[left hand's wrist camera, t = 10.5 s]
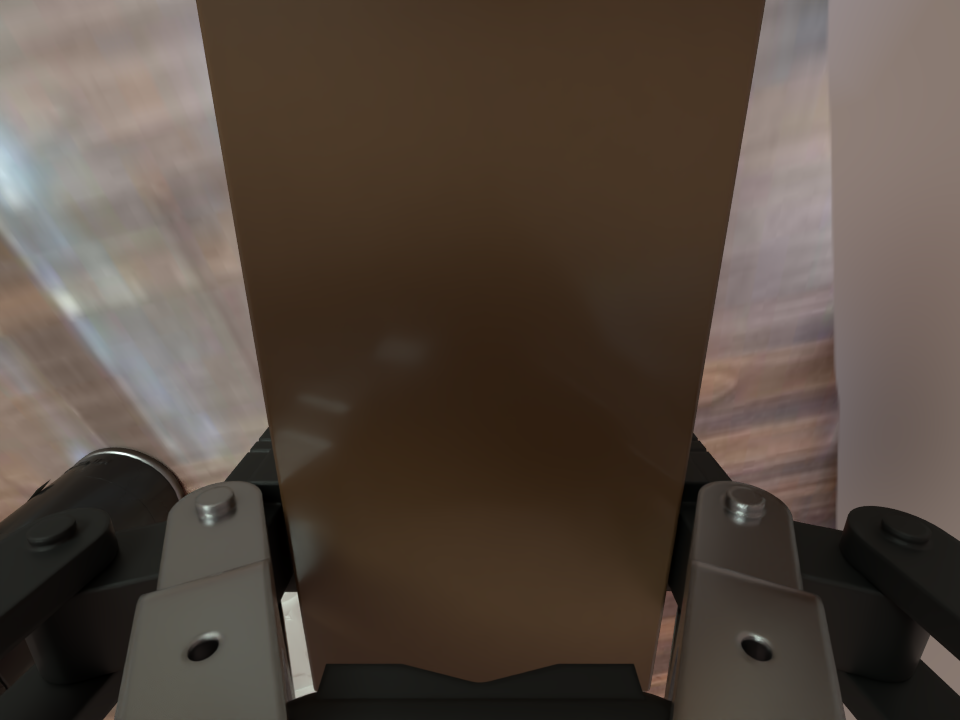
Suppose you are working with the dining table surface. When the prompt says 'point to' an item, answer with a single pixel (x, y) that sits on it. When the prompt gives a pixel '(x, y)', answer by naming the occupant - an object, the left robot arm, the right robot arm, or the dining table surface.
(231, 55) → the box
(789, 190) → the dining table surface
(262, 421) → the dining table surface
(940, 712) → the left robot arm
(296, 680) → the pistol
